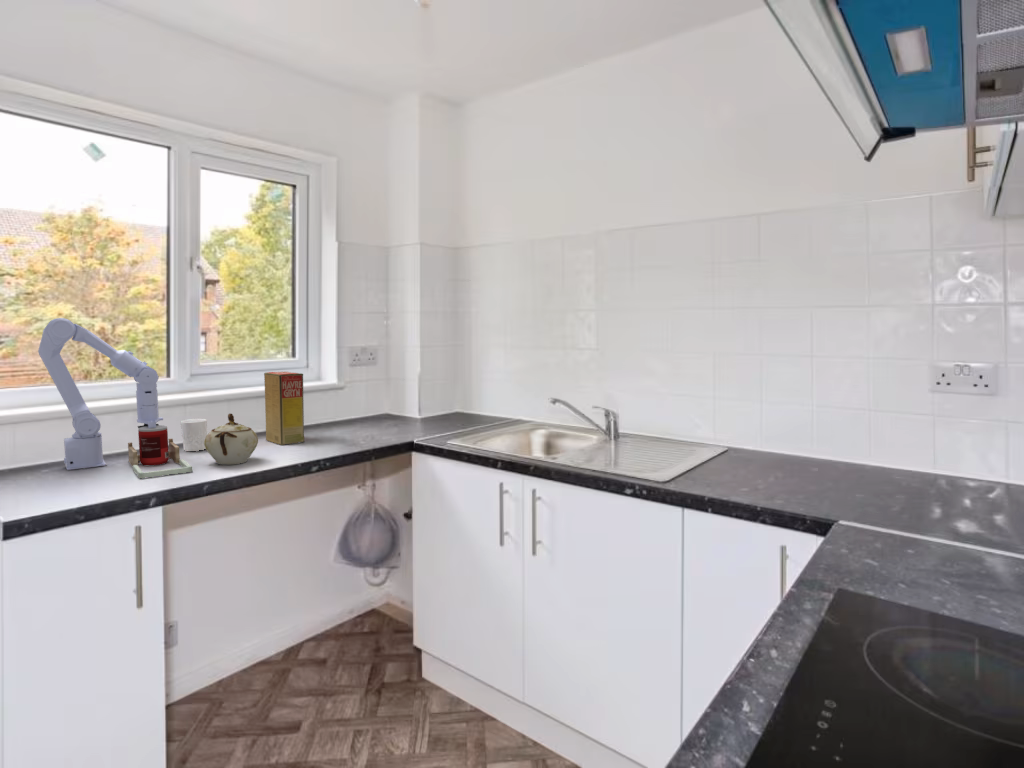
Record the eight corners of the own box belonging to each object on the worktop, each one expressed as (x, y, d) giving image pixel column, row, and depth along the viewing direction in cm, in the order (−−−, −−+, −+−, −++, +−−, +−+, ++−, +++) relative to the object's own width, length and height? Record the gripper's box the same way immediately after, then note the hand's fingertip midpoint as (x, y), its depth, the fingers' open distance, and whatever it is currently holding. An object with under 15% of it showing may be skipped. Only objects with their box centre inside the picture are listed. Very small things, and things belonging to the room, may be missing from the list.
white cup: (188, 453, 200) (187, 423, 199) (177, 450, 205) (176, 420, 204) (212, 449, 206) (211, 420, 205) (201, 446, 211) (200, 418, 210)
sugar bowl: (217, 456, 196) (215, 409, 195) (265, 454, 199) (264, 409, 197) (195, 470, 177) (192, 419, 175) (249, 468, 179) (247, 418, 178)
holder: (134, 468, 178) (133, 448, 178) (129, 462, 187) (127, 442, 186) (180, 463, 186) (179, 443, 185) (173, 457, 194) (172, 438, 194)
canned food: (162, 459, 191) (161, 424, 190) (173, 462, 186) (171, 427, 185) (135, 463, 186) (133, 427, 184) (146, 467, 181) (144, 430, 179)
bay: (139, 479, 166) (139, 473, 166) (133, 470, 176) (132, 465, 176) (192, 472, 174) (192, 467, 174) (183, 464, 185) (183, 459, 184)
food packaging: (306, 442, 220) (304, 373, 218) (280, 445, 213) (278, 374, 211) (289, 437, 229) (287, 371, 227) (264, 440, 223) (262, 372, 220)
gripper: (166, 406, 187) (168, 449, 189) (158, 401, 199) (160, 442, 200) (139, 408, 183) (142, 452, 184) (132, 403, 194) (135, 445, 196)
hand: (149, 447), depth 192 cm, fingers closed
